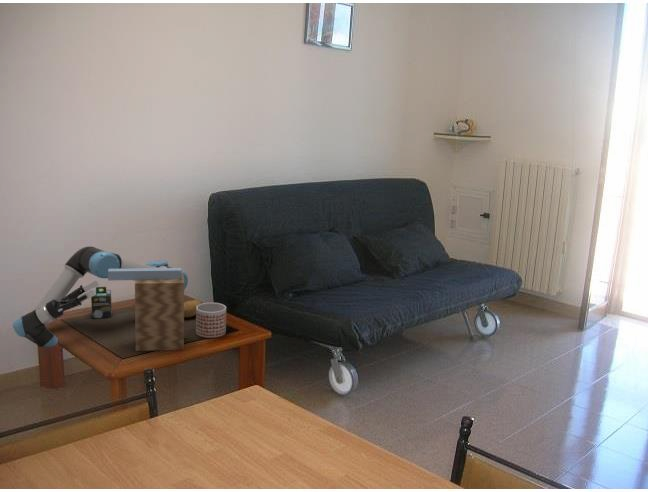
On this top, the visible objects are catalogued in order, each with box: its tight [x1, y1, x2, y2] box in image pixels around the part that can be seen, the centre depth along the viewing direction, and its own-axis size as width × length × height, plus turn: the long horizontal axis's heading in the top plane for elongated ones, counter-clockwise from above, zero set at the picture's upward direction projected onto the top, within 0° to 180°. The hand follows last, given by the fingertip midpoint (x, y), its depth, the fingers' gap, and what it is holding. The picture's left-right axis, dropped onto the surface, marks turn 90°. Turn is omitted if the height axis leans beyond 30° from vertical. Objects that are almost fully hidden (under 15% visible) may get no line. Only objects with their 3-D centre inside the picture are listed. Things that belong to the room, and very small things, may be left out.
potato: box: [184, 299, 202, 319], centre depth 319 cm, size 10×14×8 cm
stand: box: [134, 274, 185, 352], centre depth 281 cm, size 20×14×30 cm
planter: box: [195, 302, 227, 339], centre depth 299 cm, size 14×14×13 cm
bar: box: [107, 267, 182, 282], centre depth 275 cm, size 30×4×4 cm, turn 103°
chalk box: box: [90, 286, 113, 319], centre depth 314 cm, size 9×9×15 cm
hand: (96, 286), depth 272 cm, fingers open, 13 cm apart
